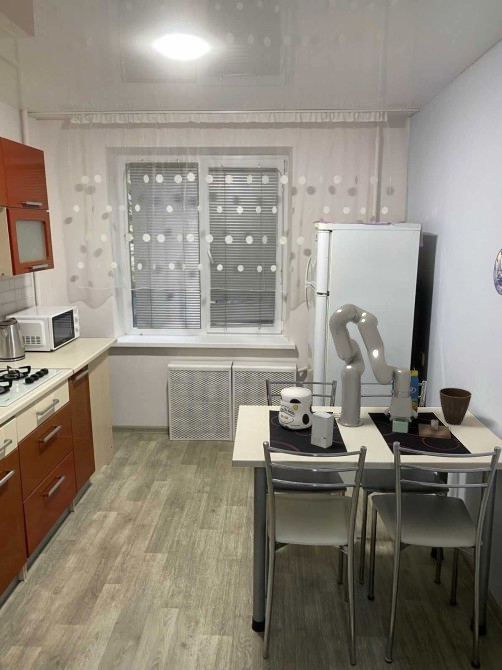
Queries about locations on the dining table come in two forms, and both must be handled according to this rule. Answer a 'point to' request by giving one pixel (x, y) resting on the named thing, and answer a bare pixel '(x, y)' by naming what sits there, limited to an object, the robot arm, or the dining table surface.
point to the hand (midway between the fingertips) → (400, 427)
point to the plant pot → (454, 404)
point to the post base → (436, 433)
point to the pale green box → (400, 424)
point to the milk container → (296, 408)
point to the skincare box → (322, 429)
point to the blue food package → (413, 390)
